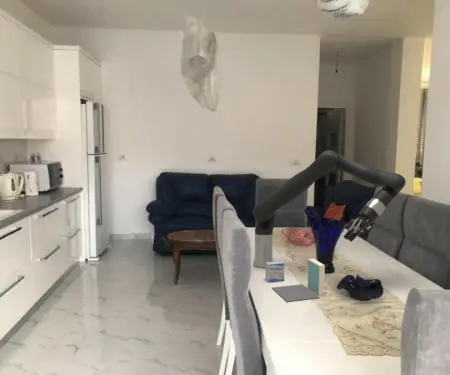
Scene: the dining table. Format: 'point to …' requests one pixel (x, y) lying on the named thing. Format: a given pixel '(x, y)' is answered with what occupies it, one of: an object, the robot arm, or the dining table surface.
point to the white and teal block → (316, 276)
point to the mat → (295, 293)
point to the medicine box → (274, 271)
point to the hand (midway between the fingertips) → (347, 239)
